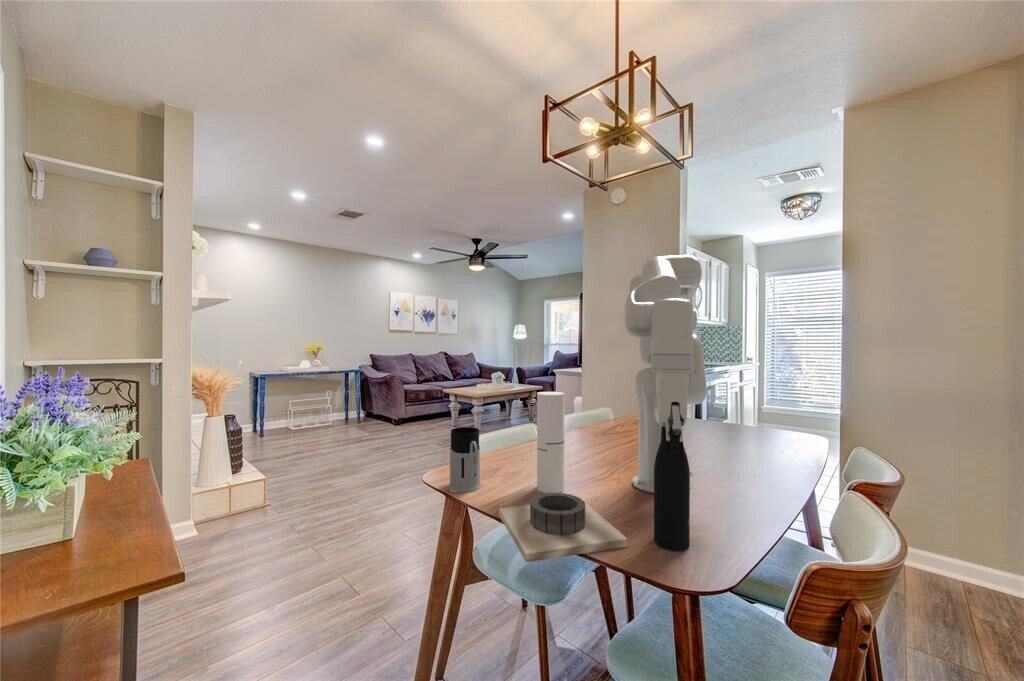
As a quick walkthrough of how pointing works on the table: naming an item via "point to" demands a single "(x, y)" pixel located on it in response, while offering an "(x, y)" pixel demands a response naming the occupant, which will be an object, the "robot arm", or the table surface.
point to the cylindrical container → (550, 441)
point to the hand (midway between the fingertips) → (671, 457)
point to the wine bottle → (671, 500)
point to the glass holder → (464, 460)
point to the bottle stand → (559, 528)
